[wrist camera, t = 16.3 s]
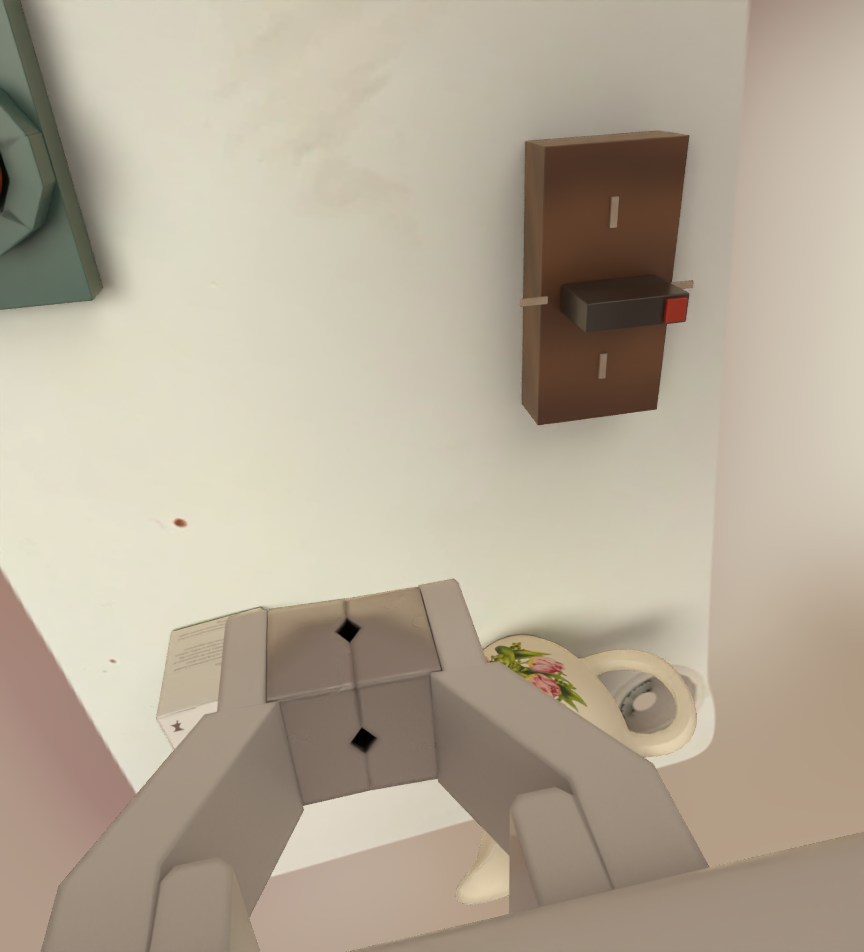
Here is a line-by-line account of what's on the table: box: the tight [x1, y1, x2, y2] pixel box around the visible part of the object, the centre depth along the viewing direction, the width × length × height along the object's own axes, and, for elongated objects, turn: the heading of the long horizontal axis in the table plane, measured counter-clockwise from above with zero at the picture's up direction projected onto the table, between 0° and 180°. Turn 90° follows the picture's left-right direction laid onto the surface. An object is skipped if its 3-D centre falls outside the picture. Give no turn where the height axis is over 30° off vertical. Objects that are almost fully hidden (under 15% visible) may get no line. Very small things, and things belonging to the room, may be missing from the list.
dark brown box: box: [560, 275, 689, 333], centre depth 34 cm, size 5×1×4 cm, turn 93°
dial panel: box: [520, 131, 694, 425], centre depth 37 cm, size 14×9×3 cm, turn 3°
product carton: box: [156, 608, 263, 750], centre depth 43 cm, size 6×6×7 cm
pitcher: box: [455, 635, 697, 905], centre depth 46 cm, size 11×18×14 cm, turn 116°
